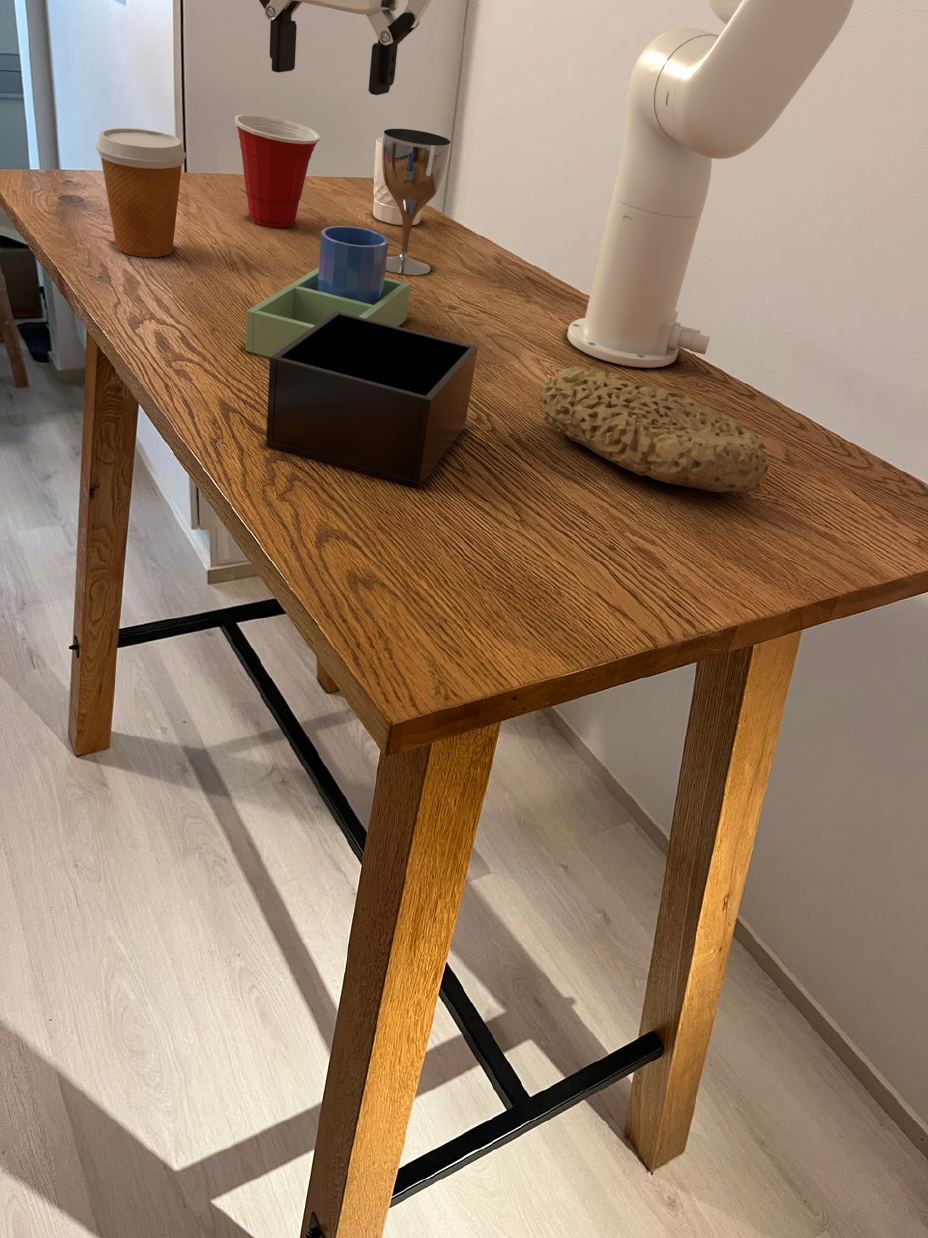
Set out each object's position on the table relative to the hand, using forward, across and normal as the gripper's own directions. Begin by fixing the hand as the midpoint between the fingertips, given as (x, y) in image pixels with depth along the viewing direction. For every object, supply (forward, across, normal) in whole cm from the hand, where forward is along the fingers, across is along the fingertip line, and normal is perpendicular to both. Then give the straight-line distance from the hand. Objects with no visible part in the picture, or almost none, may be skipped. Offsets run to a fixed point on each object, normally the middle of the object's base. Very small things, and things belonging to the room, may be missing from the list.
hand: (330, 81), depth 92 cm
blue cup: (+23, -2, -5) cm, 24 cm away
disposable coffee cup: (+23, +27, -9) cm, 37 cm away
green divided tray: (+23, -2, 0) cm, 23 cm away
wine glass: (+23, +2, -28) cm, 36 cm away
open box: (+23, -15, +19) cm, 34 cm away
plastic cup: (+23, +22, -32) cm, 45 cm away
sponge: (+24, -38, +8) cm, 45 cm away
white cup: (+24, +12, -47) cm, 54 cm away
